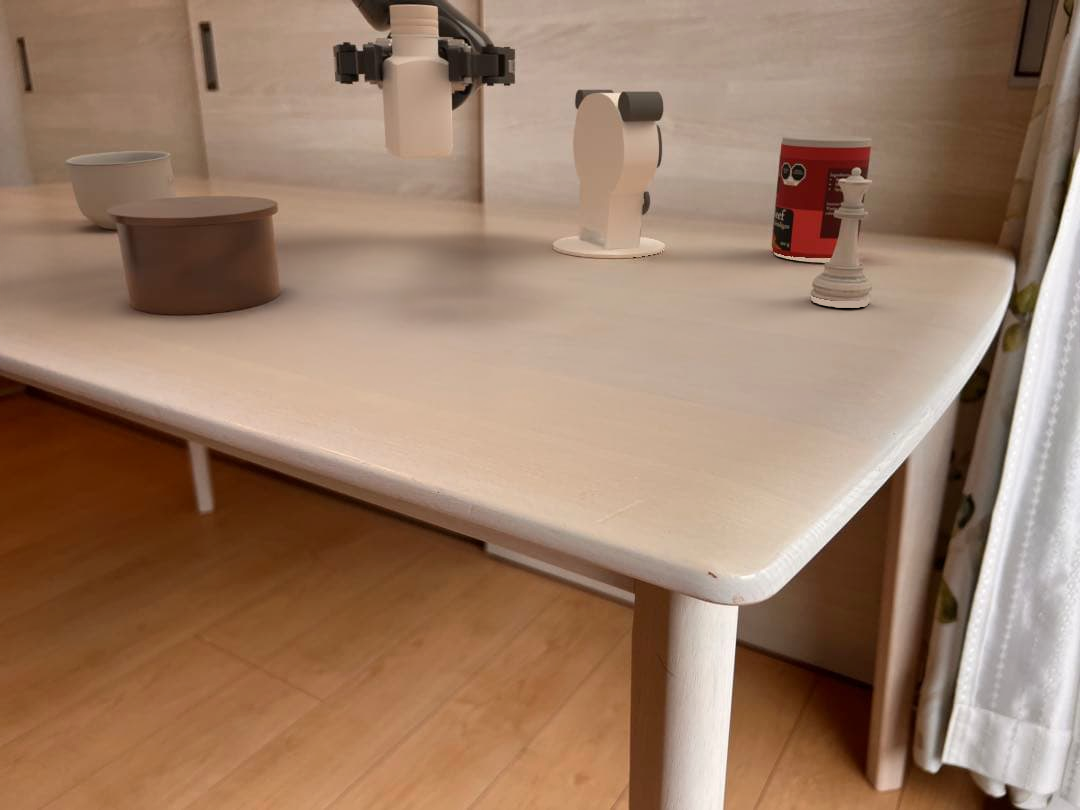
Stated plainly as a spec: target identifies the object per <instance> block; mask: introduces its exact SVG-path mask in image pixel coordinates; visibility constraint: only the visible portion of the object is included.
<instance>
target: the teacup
mask: <svg viewBox="0 0 1080 810" xmlns="http://www.w3.org/2000/svg"><path fill="white" fill-rule="evenodd" d="M171 157H172V156H171V153H170V152H167V151H159V150H124V151H111V152H109V151H107V152H98V153H89V154H88V153H87V154H80V155H77V156H73V157H70V158H68V159H66V160H65V161H64V162H65V165H66V167H67V169H68V174H69V178H70V182H71V186H72V189H73V193H74V197H75V201H76V204H77V206H78V209H79V211H80V212H81V214H82V215H83V216H84V217H85V218H86V219H88V220H89V221H91V222H93V223H95V224H96V225H98V226H99V228H102V229H105V230H115V231H116V230H117V225H116V223H115V222H111V221H110V220H109V219H108V217H107V210H108V209H109V208H111V207H114V206H117V205H121V204H125V203H131V202H137V201H145V200H153V199H164V198H176V186H175V180H174V174H173V168H172V163H171ZM117 231H118V230H117Z"/></svg>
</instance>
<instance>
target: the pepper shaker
mask: <svg viewBox="0 0 1080 810" xmlns="http://www.w3.org/2000/svg"><path fill="white" fill-rule="evenodd" d="M390 19H391V20H390V23H391V30H390V32H391V35H390V37H392V50H393V54H392V56H391V57H390V58H388V59H386V60H385V61H384V62H383V63H382V84H383V90H382V100H383V101H382V102H383V118H384V119H383V121H384V138H385V139H384V141H385V148H386V150H387V153H388V154H390V155H392V156H395V157H399V158H402V159H405V160H406V159H408V160H409V159H438V158H439V159H441V158H443V159H444V158H447V157H449V156H451V155H452V152H453V149H454V140H453V139H454V138H453V137H454V133H453V132H454V131H453V111H452V91H451V82H449V67H448V62H447V61H446V60H444V59H442V58H440V57H439V55H438V38H439V34H438V7H436V6H429V5H391V6H390Z"/></svg>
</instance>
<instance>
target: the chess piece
mask: <svg viewBox="0 0 1080 810" xmlns="http://www.w3.org/2000/svg"><path fill="white" fill-rule="evenodd" d="M860 174H861V169H860V168H854V169H853V170H852V176H849V177H848V178H847V179H839V180H838V184H839V185H840V187H841V189H842V192H843V194H844V202H842V203H841V206H842V207H840V208H839V210H835V211H834V217H836V218H841V219H842V221H841V227H840V232H839V237H838V240H837V244H836V247H835V250H834V253H833V256H832V258H831V260H830V262H826V263H824V270H823V271H822V272H821V273H820V274H818V275H816V276H815V277H814V279H813V280H812V284H811V285H812V289H811V290H810V294H811V295H812V296H813V297H816V298H819V299H824V300H830V301H860V300H866V299H868V298H870V297H871V298H872V295H871V293H870V292H871V291H872V288H873V285H872V283H871V280H869V278H867V277H866V275H864V272H863V271H864V269H865V265H864V264H863V263H860V259H859V250H858V249H859V247H858V246H859V245H858V246H857V235H858V224H859V219H861V220H866V219H868V217H869V212H868V211H866V210H865V208H864V203H861V201H862V198H863V195H864V193H865V194H866V192H867V191H868V189H869V188H870V187H871V186H872V185H873V180H872V179H867V180H866V179H864V178H863V177H861V176H860ZM862 207H863V208H862Z"/></svg>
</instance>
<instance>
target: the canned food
mask: <svg viewBox="0 0 1080 810" xmlns="http://www.w3.org/2000/svg"><path fill="white" fill-rule="evenodd" d="M781 139H782V140H781V144H780V145H781V146H780V151H779V152H780V153H779V159H778V161H779V162H778V173H777V181H776V182H777V184H776V193H775V204H774V214H773V225H772V234H771V235H772V237H771V249H772V253H773V252H775V253H777V254H781V255H784V256H791V257H792V256H793V257H805V258H832V256H833V253H834V250H835V247H836V244H837V240H838V237H839V232H840V227H841V221H842V219H841V218H836V217H834V211H835V210H839V208H840V207H842V206H841V203H842V202H844V194H843V192H842V189H841V187H840V185H839V184H838V180H839V179H847V178H848V177H849V176H852V170H853V169H854V168H860V169H861V174H860V176H861V177H863V178H864V179H866V180H868V176H869V175H868V174H869V167H870V159H871V151H872V138H870V137H866V136H855V135H835V134H828V135H827V134H793V135H785V136H783V137H782V138H781ZM865 196H866V192H865V193H864V195H863V198H862V201H861V203H863V204H864V202H865ZM862 208H863V209H864V206H863V207H862ZM861 223H862V219H859V224H858V235H857V246H859V239H860V231H861V225H862V224H861Z"/></svg>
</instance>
